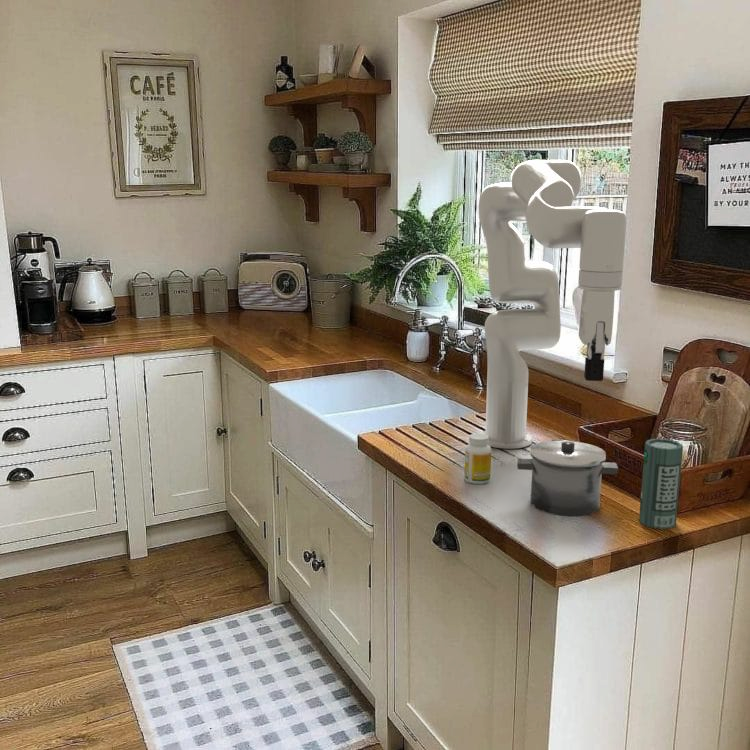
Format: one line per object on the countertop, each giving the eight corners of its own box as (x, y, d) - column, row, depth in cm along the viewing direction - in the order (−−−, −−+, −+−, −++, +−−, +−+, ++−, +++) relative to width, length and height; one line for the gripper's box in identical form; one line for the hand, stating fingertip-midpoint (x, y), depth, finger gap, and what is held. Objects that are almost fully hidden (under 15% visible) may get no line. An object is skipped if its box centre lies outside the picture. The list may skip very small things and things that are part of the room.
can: (664, 514, 154) (671, 438, 150) (681, 527, 148) (688, 448, 145) (634, 516, 153) (640, 439, 150) (649, 530, 147) (656, 450, 144)
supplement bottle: (459, 480, 171) (460, 436, 169) (474, 473, 175) (475, 430, 173) (480, 486, 168) (481, 441, 166) (495, 479, 172) (497, 435, 169)
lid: (528, 442, 166) (529, 430, 165) (600, 446, 164) (600, 433, 163) (531, 465, 151) (532, 452, 151) (610, 469, 150) (610, 455, 149)
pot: (515, 488, 167) (517, 445, 165) (609, 492, 164) (612, 450, 162) (516, 513, 155) (518, 467, 152) (619, 518, 152) (622, 472, 150)
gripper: (574, 274, 155) (569, 369, 159) (582, 285, 141) (576, 389, 145) (615, 275, 154) (609, 370, 158) (628, 286, 140) (620, 390, 144)
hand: (593, 379), depth 152 cm, fingers closed
